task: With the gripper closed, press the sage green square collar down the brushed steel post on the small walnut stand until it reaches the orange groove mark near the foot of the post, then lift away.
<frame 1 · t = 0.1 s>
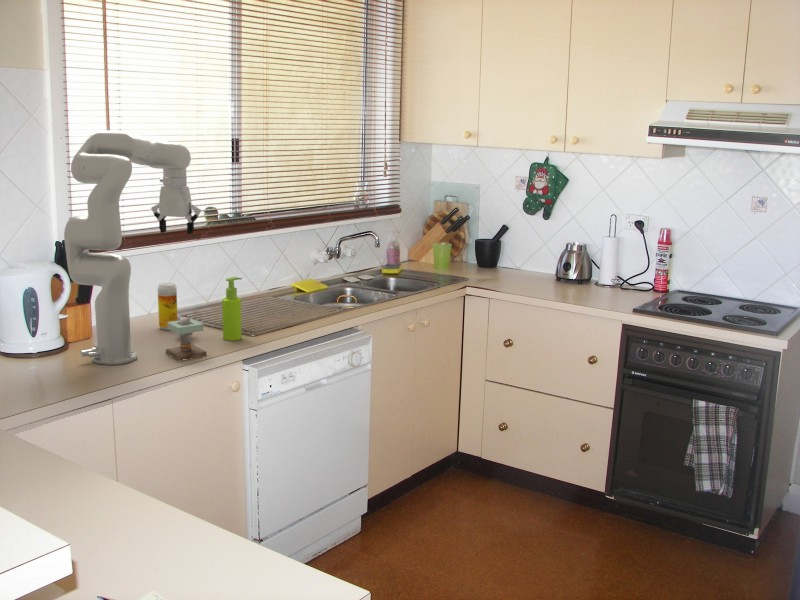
hand: (176, 233, 294), 31 cm above the worktop, tool pointing down, fingers open, 9 cm apart
post stand: (186, 355, 263), on the worktop
soap dispenser: (233, 338, 283), on the worktop
onion: (185, 339, 281), on the worktop
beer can: (168, 328, 293), on the worktop
collar: (185, 326, 261), point 9 cm above the worktop, slide at 0.0 cm
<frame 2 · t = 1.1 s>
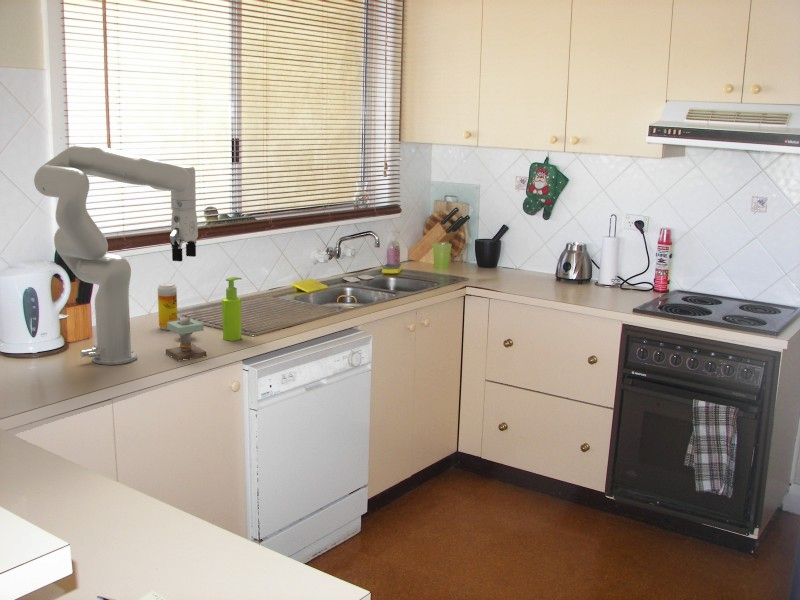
hand: (184, 258, 276), 26 cm above the worktop, tool pointing down, fingers open, 9 cm apart
nothing on the worktop moved.
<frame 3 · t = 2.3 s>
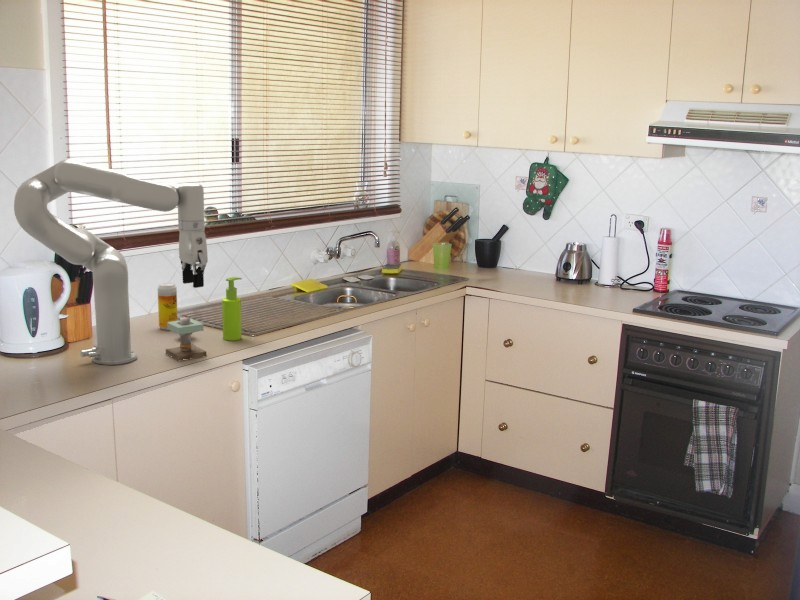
hand: (193, 284, 260), 22 cm above the worktop, tool pointing down, fingers open, 6 cm apart
nothing on the worktop moved.
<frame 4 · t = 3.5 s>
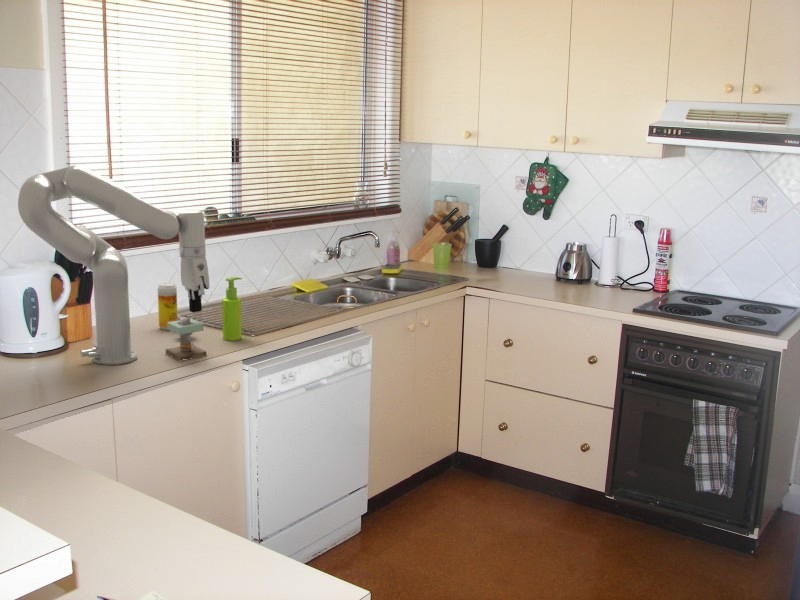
hand: (195, 311, 262), 13 cm above the worktop, tool pointing down, fingers closed
nothing on the worktop moved.
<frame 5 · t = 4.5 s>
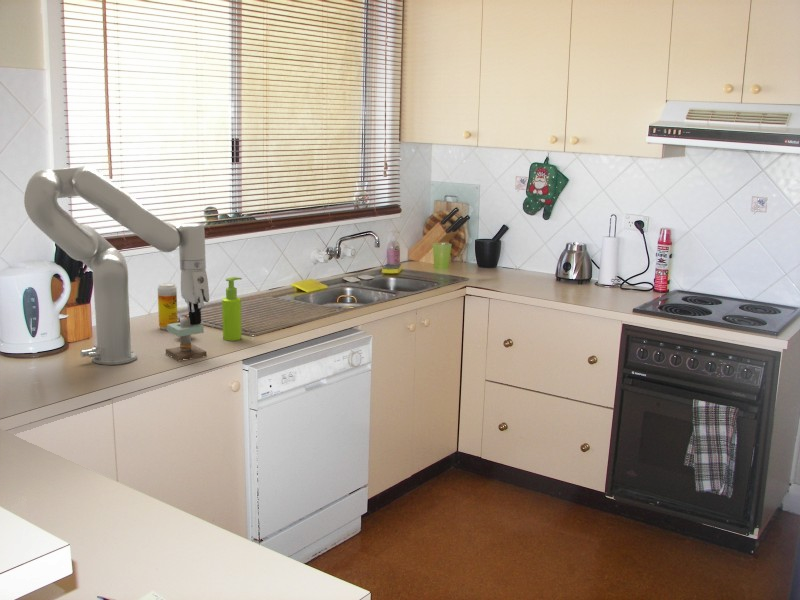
hand: (195, 323, 263), 9 cm above the worktop, tool pointing down, fingers closed
collar: (185, 328, 262), point 8 cm above the worktop, slide at 0.7 cm, touching gripper
everything else where it was.
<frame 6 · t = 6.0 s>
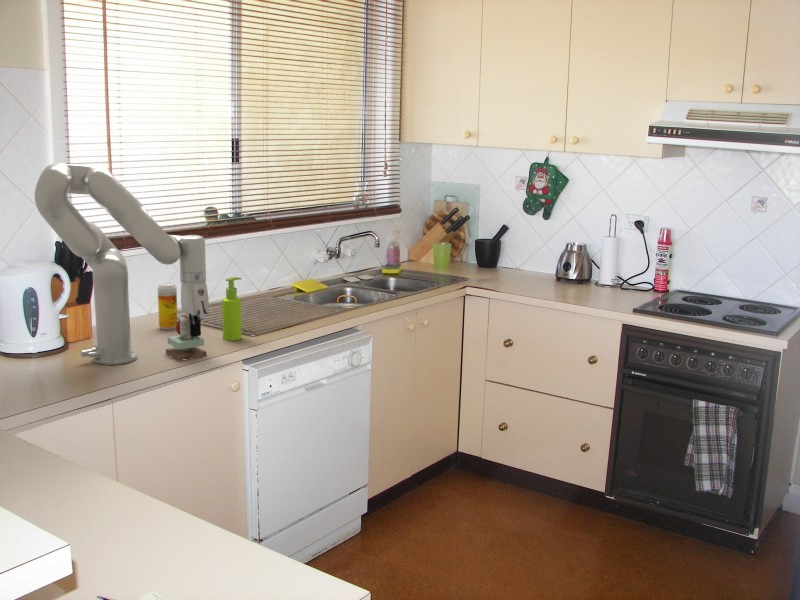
hand: (194, 335, 264), 6 cm above the worktop, tool pointing down, fingers closed
collar: (185, 341, 262), point 4 cm above the worktop, slide at 4.7 cm
everything else where it was.
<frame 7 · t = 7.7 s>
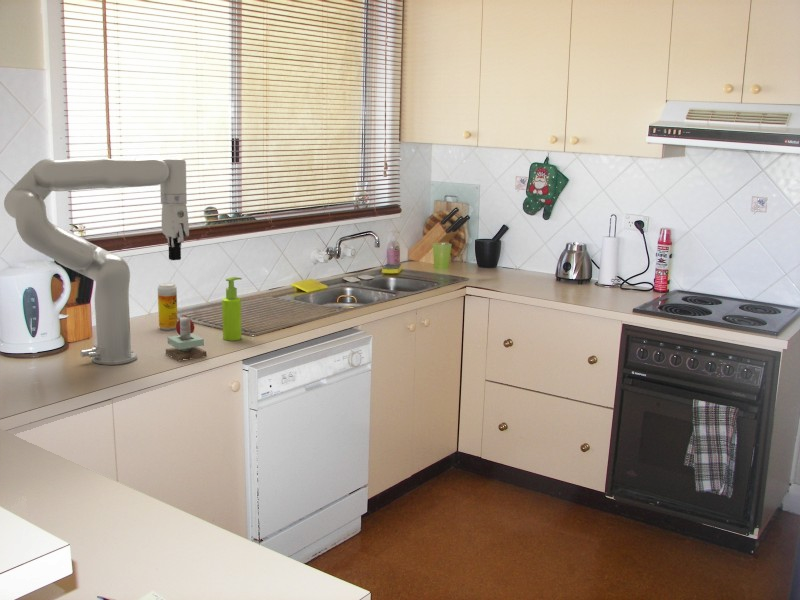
hand: (174, 259, 263), 28 cm above the worktop, tool pointing down, fingers closed
nothing on the worktop moved.
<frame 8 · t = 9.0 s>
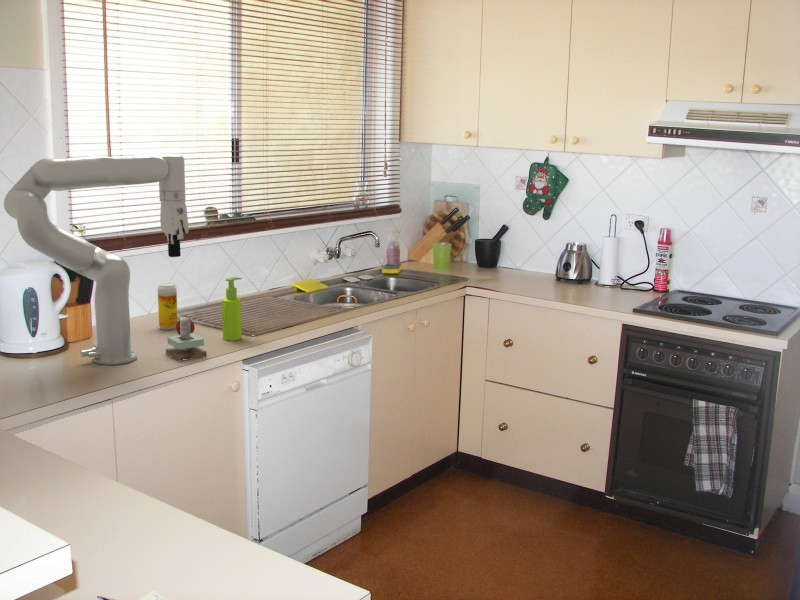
hand: (174, 256, 263), 29 cm above the worktop, tool pointing down, fingers closed
nothing on the worktop moved.
at the end: collar slide at 4.7 cm; the gripper is holding nothing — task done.
